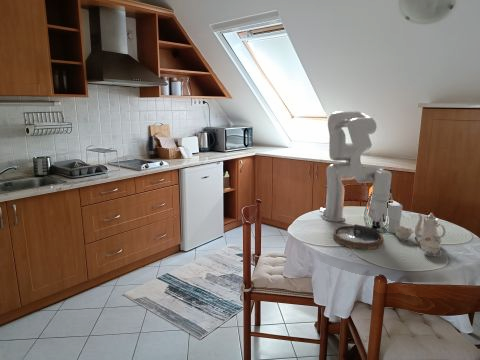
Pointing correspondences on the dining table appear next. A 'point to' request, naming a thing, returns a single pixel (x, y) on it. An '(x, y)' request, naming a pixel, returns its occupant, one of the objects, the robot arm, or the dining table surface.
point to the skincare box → (394, 215)
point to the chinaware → (424, 234)
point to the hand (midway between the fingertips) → (375, 233)
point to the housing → (357, 244)
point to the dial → (360, 234)
